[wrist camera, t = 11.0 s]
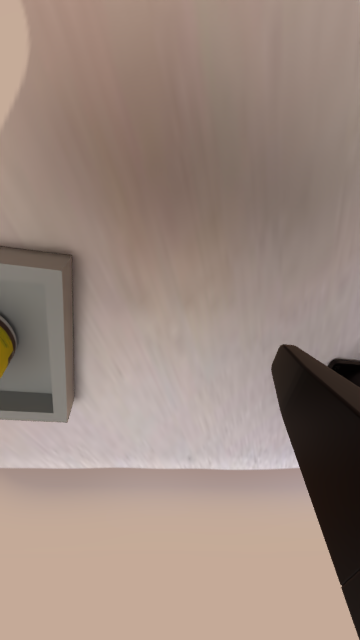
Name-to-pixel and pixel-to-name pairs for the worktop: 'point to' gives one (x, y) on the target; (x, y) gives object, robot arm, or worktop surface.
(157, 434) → the worktop surface
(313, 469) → the robot arm
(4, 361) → the supplement bottle
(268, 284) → the worktop surface
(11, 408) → the tray
